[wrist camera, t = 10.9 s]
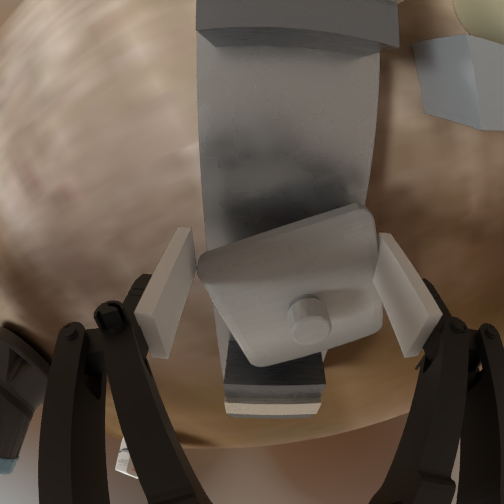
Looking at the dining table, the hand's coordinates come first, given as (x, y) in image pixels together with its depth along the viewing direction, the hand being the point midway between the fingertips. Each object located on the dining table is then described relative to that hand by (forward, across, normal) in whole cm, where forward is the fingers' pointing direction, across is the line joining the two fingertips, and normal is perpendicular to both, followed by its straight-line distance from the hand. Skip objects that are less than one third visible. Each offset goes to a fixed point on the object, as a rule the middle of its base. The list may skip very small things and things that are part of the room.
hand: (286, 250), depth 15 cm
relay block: (+4, +11, +12) cm, 16 cm away
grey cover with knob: (+2, -1, 0) cm, 3 cm away
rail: (+4, 0, 0) cm, 4 cm away
